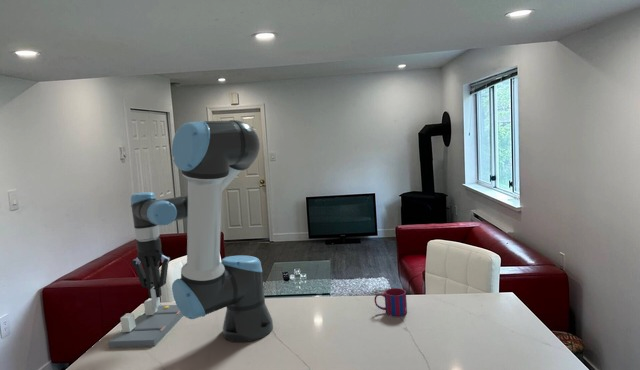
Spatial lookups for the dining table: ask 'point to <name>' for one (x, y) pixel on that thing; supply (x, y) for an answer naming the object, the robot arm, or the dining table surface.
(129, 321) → the block
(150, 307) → the block
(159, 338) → the breaker panel
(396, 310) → the mug
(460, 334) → the dining table surface
